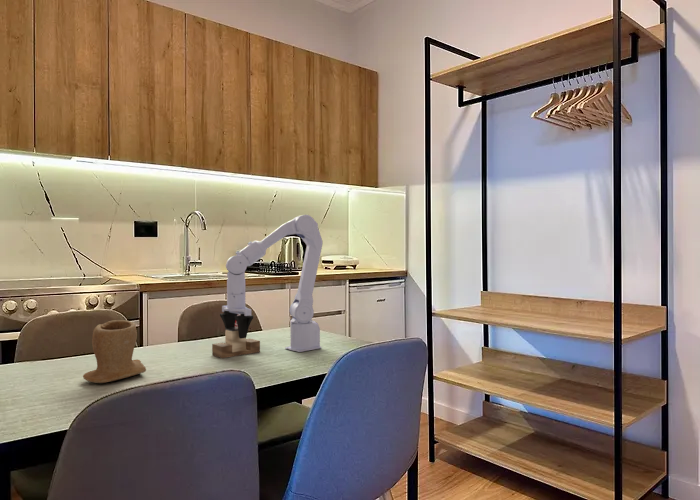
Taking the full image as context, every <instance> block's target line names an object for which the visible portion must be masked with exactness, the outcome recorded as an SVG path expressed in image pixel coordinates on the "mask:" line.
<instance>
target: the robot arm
mask: <svg viewBox="0 0 700 500" xmlns="http://www.w3.org/2000/svg"><path fill="white" fill-rule="evenodd" d="M320 232H321V231H320V230H319V224H318V222H317V221H316V220H315V219H314V218H313V217H312V216H311V215H309V214H301V215H298V216H295V217H294V218H293V219H290V220H289V221H286V222H285V223H283V224H281V225H279V226H278V227H277V228H276V229H275V230H274V231H272V232H271V233H269V234H268V235H267V236H265V237H264V238H263V239H262V240H253V241H252V240H251V241H249V242H248V243H247V246H245V247H243V248H242V249H241V250H237V251H236V252H235V254H236V255H233V256H230V257H229V258H228V259H227V260H226V263H225V269H226V271H227V274H226V275H227V279H226V305H221V312H222V313H220V314H219V316H220V319H221V320H222V322H223V325H224V329H226V328H234V327H235V321H236V322H237V325H238V333H239V338H246V339H247V336H248V331H249V328H250V325H251V322H252V321H253V319H254V315H252V309H251V308H248V307H247V306H246V276H245V273H246V272H245V271H246V270H247V267H251V266H253V264H255V263H256V262H258V261H259V260H260V259H261V258H264V257H265V256H266V252H267V250H268V249H269V248H270V247H272V246H273V245H275V244H276V243H278V242H279V241H281V240H283V238H285V237H286V236H290V235H297V237H299V238H301V239H302V242H304V243H305V245H306V248H305V252H304V258H303V264H302V267H301V272H300V273H301V274H300V277H299V283H298V287H297V291H296V294H295V296H294V297H293V298H294V299H293V301H292V303H291V304H290V306H289V310H288V311H289V315H290V316H291V317H292V318H291V319H290V323H289V324H290V325H289V326H290V333H289V334H290V337H289V338H290V345H289V346H285V347H284V349H285V350H289V351H292V352H293V351H294V352H298V353H301V352H308V351H311V350H313V351H314V350H319V349H322V346H321V332H320V331H321V330H320V328H321V327H320V325H319V323H318V322H316V321H315V320H313V317H314V313H315V312H314V311H315V310H314V308H313V307H314V306H313V305H314V297H313V296H314V295H313V292H314V289H315V283H316V278H317V274H318V268H319V265H320V264H319V263H320V259H321V253H322V249H323V238H322V235H321V233H320ZM237 314H241V316H237Z"/></svg>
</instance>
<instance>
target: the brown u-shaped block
mask: <svg viewBox="0 0 700 500" xmlns="http://www.w3.org/2000/svg"><path fill="white" fill-rule="evenodd" d="M211 347H212V349H211V351H212V352H211V353H212V356H213V357H217V358H220V359H225V358H231V357H239V356H243V355H248V354H255V353H256V354H257V353H260V352H261V340H257V339H253V338H246V350H244V351H238V352H233V353H232V345H230V344H226V343H225V342H218V343H217V342H216V343H212V346H211Z"/></svg>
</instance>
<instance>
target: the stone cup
mask: <svg viewBox="0 0 700 500" xmlns="http://www.w3.org/2000/svg"><path fill="white" fill-rule="evenodd" d="M137 331H138V330H137V327H136V324H135V322H133V321H130V320H126V319H117V320H116V319H115V320H109V321H106V322H104V323H102V324H100V323H99V324H97V325H96V326H95V327H94V328H93V331H92V335H91V336H92V338H91V343H92V344H91V346H92V351H93V353H94V356H95V359H96V365H97V366H96V369H94V370H91V371H88V372H86V373H84V374H83V375H82V377H83V380H85V381H87V382H89V383H95V384H96V383H97V384H105V383H106V384H107V383H109V382H115V381H119V380H123V379H125V378H129V377H133V376H136V375H140V374H143V373H145V372H147V368H146V366H145V365H144V364H143V363H142V361H141V360H140V359H133V354H134V350H135V345H136V342H137V340H138V339H137V338H138V332H137Z"/></svg>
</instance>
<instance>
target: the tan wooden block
mask: <svg viewBox="0 0 700 500" xmlns="http://www.w3.org/2000/svg"><path fill="white" fill-rule="evenodd" d="M224 329H225V328H224ZM224 335H225V336H224V337H225V339H224V341H225V342H224V343H226V344H230V345H232V353H233V352H238V351H244V350H246V339H247V337H246V338H239V333H238V327H234V328H226V329H225V334H224Z"/></svg>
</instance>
